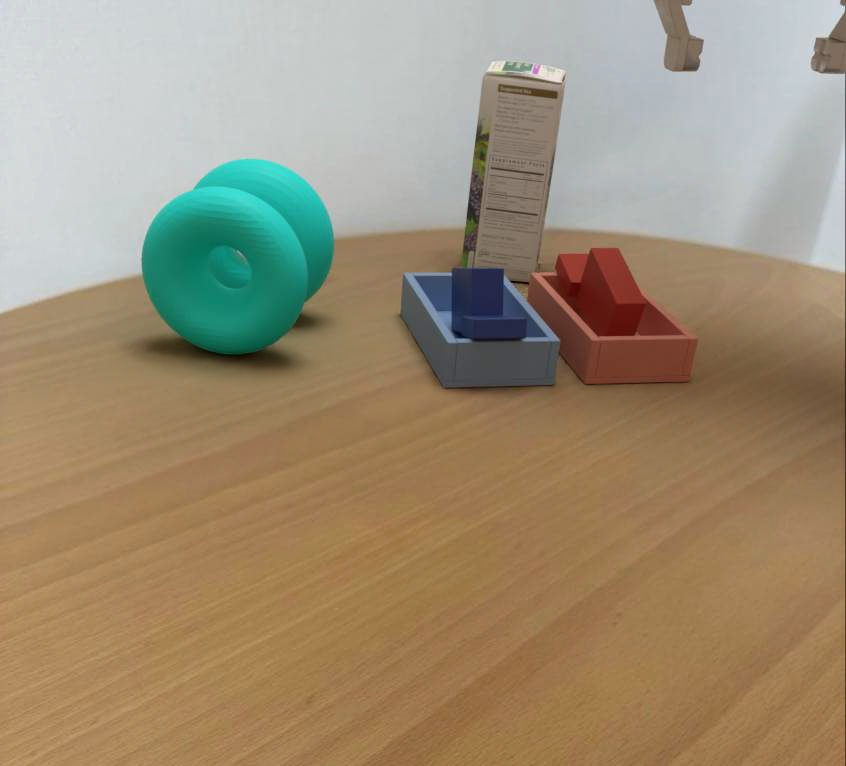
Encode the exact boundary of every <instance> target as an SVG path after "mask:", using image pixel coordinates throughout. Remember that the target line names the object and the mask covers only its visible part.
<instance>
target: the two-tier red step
mask: <svg viewBox="0 0 846 766" xmlns="http://www.w3.org/2000/svg"><path fill="white" fill-rule="evenodd" d="M554 269H555V272H557V274H558V277H559V279H560V281H561V283H562V286H563V288H564V290H565V293H566V295H567V296H568V297H576V298H577V300H578V302H579V305H580V307H581V309H582V311H583V314H584V316H585V318H586V320H587V323H588V325H589V327H590V329H591V330H592V331H593V332H594V333H595V334H596V335H597V336H598V337H600V336H635V334H636V331H637V328H638V325H639V322H640V320H641V317H642V314H643V311H644V309H645V306H646V302H645V300H644V298H643V296H642V294H641V292H640V290H639V288H638V286H637V284H638V283H637V281H636V280H635V278H634V276H633V274H632V272H631V269H630V268H629V265H628V263H627V262H626V260H625V258H624V256H623V254H622V252H621V250H620V248H619V247H591V248H590V249H589V252H588V253H558V254H557V258H556V262H555V265H554ZM636 283H637V284H636Z"/></svg>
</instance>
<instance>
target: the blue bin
mask: <svg viewBox="0 0 846 766" xmlns="http://www.w3.org/2000/svg"><path fill="white" fill-rule="evenodd" d="M401 283H402V285H401V298H400V308H399V309H400V312H399V314H400V315H401V317H402V319H403V320H404V322H405V324H406V326H407V327H408V329H409V331H410V332H411V334H412V336H413V338H414V339H415V341H416V343H417V344H418V346H419V348H420V350H421V351H422V353H423V355H424V357H425V358H426V360H427V362H428V363H429V365H430V366H431V369H432V371H433V372H434V374H435V375H436V377H437V379H438V380H439V382H440V384H441V386H442V387H443V388H444V389H448V388H449V389H451V388H452V389H453V388H455V389H456V388H487V387H488V388H489V387H490V388H491V387H525V386H528V387H529V386H554V385H555V380H556V374H557V368H558V360H559V354H560V353H559V348H560V340H559V338H558V337H557V336H556V335H555V334H554V333H553V331H552V330H551V329H550V328H549V327H548V325H547V324H546V323H545V322H544V321H543V320H542V318H541V317H540V316H539V315H538V314H537V313H536V311H535V310H534V309H533V308H532V307H531V306H530V304H529V303H528V302H527V299H526V298H525V297H524V296H523V295H522V294H521V292H520V291H519V290H518V289H517V288H516V287H515V285H514V284H513V283H512V282H511V280H508V279H507V277H506V276H505V275H504V296H503V316H506V315H512V316H518V317H523V318H526V319H527V328H526V338H525V339H472V338H469V337H465V336H462V333H461V332H457V331H453V330H452V329H451V322H452V272H403V273H402V282H401Z"/></svg>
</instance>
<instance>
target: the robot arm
mask: <svg viewBox="0 0 846 766" xmlns="http://www.w3.org/2000/svg"><path fill="white" fill-rule="evenodd" d="M653 3H654V6H655V8H656V12H657V14H658V16H659V19H660V22H661V25H662V28H663V31H664V33H665V34H666V40H665V41H666V42H665V48H664V55H663V66H664V69H666V70H668V71H670V72H677V73H678V72H679V73H681V72H682V73H684V72H686V73H689V72H690V73H693V72H698V70H699V68H700V65H701V59H700V56H701V54H702V53H703V49H704V41H705V39H704V38H701V37H696V35H692V34H690V31H689V27H688V23H687V19H686V17H685V14H684V10H683V6H691V5H692V4H693V0H653ZM839 4H840V6H843V7H846V0H839ZM813 52H814V54H813V55H812V57H811V59H810V69H811V70H812V71H813V72H817V73H819V74H823V75H825V74H826V75H827V74H829V75H844V74H845V73H846V10H845V11H844V12H843V14H842V15H841V16H840V18H839V20H838V21H837V23H836V24H835V26H834V27H833V28H832V30H831V32H830V33H829V35H828V37H827V36H826V37H824V36H823V37H815V41H814V46H813Z"/></svg>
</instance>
